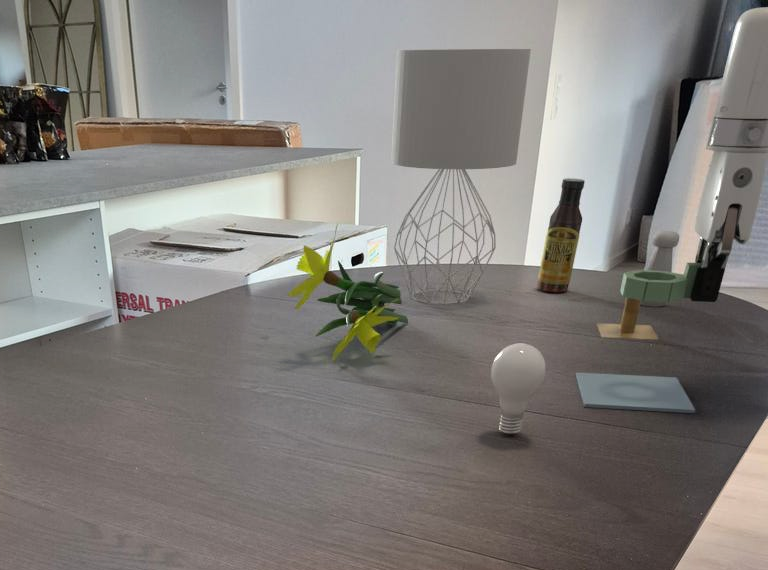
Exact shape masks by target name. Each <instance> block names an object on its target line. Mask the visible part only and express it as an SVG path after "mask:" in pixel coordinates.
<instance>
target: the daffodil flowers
mask: <svg viewBox="0 0 768 570" xmlns="http://www.w3.org/2000/svg"><path fill="white" fill-rule="evenodd" d="M337 230H338V223H336V226H335V231H334V237H333V240H332V243H331V245H330V248H329V250H328V249H325V253H324V256H322V255H320V254H319V252H317V251H315V249H313V248H311V247H309V246H307V245H303V252H302V254H301V257H300V258H299V259H298V260H299V261H297V264H296V270H297V271H300V272H304V273H306V274H309V275H310V276H309V277H308V278H306V279H305V280H304V281H303V282H301V283H300V284H298V285H297V286H296V287H294V288H293V289H291V290H290V292H288V293H287V294H286V297H296V296H300V295H302V296H301V298H300V299H299V301H298V302H297V304H296V305H295V307H294V308H293V310H292V312H295V311H296V310H297V309H298V308H300V307H302V306H303V305H304V304H305V303H306V302H307V301H308V300H309V298H310V297H311V295H312V294H313V292H314V291H315V290H316V289H317V288H318V286H319V285H321V284H322V283H325V284H327V285H330V286H333V287H336V288H339V289H341V290H343V291H342V292H341V291H340V292H337V293H334V294H331V295H328V296H326V297H321V298H317V299H316V300H317V302H321V303H327V304H334V305H336V307H337V310H338V311H339V312H340V313H341V314H343V315H346V316H345V317H341V318H336V319H332V321H329V322H328V323H326V324H325V325H324V326H323V327H322V328H321V329H320V330H319V331H318V332H317V333H316V334H315V337H318V336H322V335H324V334H325V333H328V332H331V331H332V330H334V329H337V328H340V327H343V326H347V327H349V326H350V325H351V326H350V328H349V330H348V332H347V333H346V335H345V336H344V337H343V338H342V339H341V341H339V342H338V344H337V346H336V347H335V349H334V351H333V355H332V358H331V360H330V361H331V362H333V361H334V359H336V358H337V357H338V355H340V353H341V352H342V351H343V350H344V349H345V348H346V347H347V346H348V345H349V344H350V343H351V342H352V341H353V339H354V338H355V337H356V338H357V339H358V340H359V342H360V343H361V345H362V346H363V347H364V348H366V349H367V350H368V351H369V352H370V353H372V354H376V346H378V343H380V342H381V340H382V338H383V337H382V335H381V334H380V333H379V332H377V331H376V330H374V328H372V327H375V326H377V325H380V324H383V323H386V324H391V325H396V324H397V323H398V322H400V323H403V324H407V325H408V324H409V319H408V317H407V315H403V314H400V313H397V312H395V311H396V309H395V308H390V307H388V306H389V305H390V304H397V305H400V306H401V305H402V303H403V301H402V297H401V296H402V294H401V293H402V292H401V290H400V289H399V288H400V286H399V285H394V284H391V283H390V284H389V283H384V282H383V281H381V280H380V279H381V278H382V276H383V275H384V271H379V272H378V273H375V275H374V276H373V281H366V280H359V281H353V279H352V278H351V277H350V276H349V274H348V273H347V271H346V270H345V268H344V266H343V265H342V263H341V262H340V261H339V260H337V264H338V268H339V272H340V274H341V276H342V277H340V276H339V275H337V274H335V272H334V271H331V270H330V264H331V258H332V257H331V256H332V252H333V248H334V245H335V240H336V235H337ZM342 306H351V307H352V308H351V309H348V308H344V307H342Z"/></svg>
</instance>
